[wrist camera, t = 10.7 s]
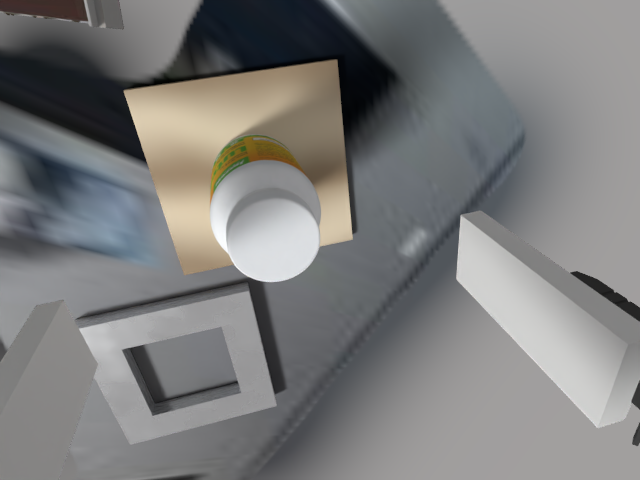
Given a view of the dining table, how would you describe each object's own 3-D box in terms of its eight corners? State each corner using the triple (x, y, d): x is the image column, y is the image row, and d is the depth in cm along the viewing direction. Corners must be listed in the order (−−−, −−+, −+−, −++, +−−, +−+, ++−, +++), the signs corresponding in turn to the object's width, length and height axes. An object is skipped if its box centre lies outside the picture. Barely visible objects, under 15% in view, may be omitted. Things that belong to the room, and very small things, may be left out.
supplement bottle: (233, 116, 24) (242, 157, 15) (312, 156, 26) (359, 212, 17) (197, 195, 25) (187, 273, 17) (274, 227, 27) (301, 310, 19)
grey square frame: (75, 319, 28) (69, 330, 27) (247, 281, 30) (248, 290, 28) (132, 431, 34) (130, 444, 32) (275, 394, 35) (276, 405, 34)
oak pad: (125, 89, 22) (123, 90, 22) (334, 59, 24) (337, 59, 23) (184, 270, 28) (184, 275, 27) (350, 235, 30) (352, 239, 29)
